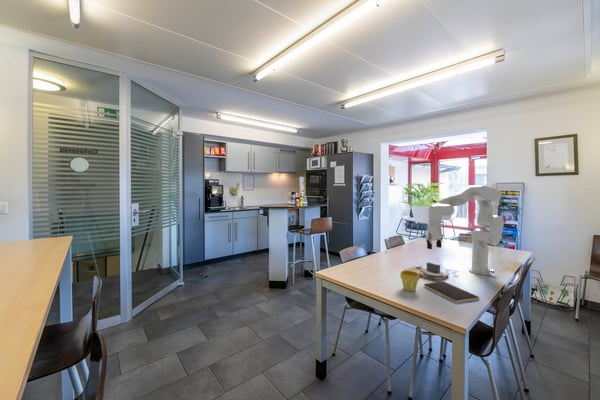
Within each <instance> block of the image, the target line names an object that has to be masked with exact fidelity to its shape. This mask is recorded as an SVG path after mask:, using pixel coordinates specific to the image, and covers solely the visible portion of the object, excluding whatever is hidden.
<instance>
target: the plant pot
mask: <svg viewBox="0 0 600 400" xmlns="http://www.w3.org/2000/svg"><path fill="white" fill-rule="evenodd" d="M399 274H400V275H399V276H400V279H401V282H402V287H403V289H404V290H405V291H408V292H415V291H416V290H417V285H418V282H419V281H420V277H419V274H418V273H417V272H414V271H404V270H402V271H400V273H399Z"/></svg>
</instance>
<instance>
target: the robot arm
mask: <svg viewBox="0 0 600 400" xmlns="http://www.w3.org/2000/svg"><path fill="white" fill-rule="evenodd" d="M501 198H502V193H501V191H500V190H498V189H497V188H493V187H490V186H487V185H483V184H480V185H479V184H478V185H477V184H476V185H475V184H474V185H468V186H466V187H465V188H463V189H461V190H460V191H458V192H457V193H455V194H454V195H450V196H448V197H445V198H442V199H440V200H439V201H437V202H436V203H434V204H430V205H429V206H428V225H427V227H426V236H425V237H424V239H425V241H426V248H427V249H428V250H432V249H433V241H436V244H435V245H436V248H440V249H441V248H442V242H443V238H444V234H443V231H442V229H443V228H442V216H446V217H448V216H452V215H453V214H454V213H455V207H460V206H464V205H465V204H466V203H468V202H470V201H471V200H473V199H475V200H476V202H477V203H478V207H479V209H478V213H477V218H476V224H477V226H479V227H481V228H474V229H473V230H472V231H471V234H470V235H471V241H472V249H471V253H472V254H471V267H470V268H468V271H469V272H470V273H472V274H476V275H480V276H481V275H482V276H489V275H491V274H496V271H495V270H494V269H491V268H490V266H489V252H490V251H489V249H490V248H489V246H488V245H494V246H496V245H498V244H499V243H500V242H501V238H502V235H503V229H504V224H505V222H504V219H503V217H502V216H500V215H494V210H495V206H494V204H493V203H494V202H498V201H500V200H501ZM484 228H487V229H484Z"/></svg>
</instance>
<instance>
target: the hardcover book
mask: <svg viewBox="0 0 600 400" xmlns="http://www.w3.org/2000/svg"><path fill="white" fill-rule="evenodd" d="M423 285H424V288H426V289H427V290H429V291H431V292H433V293H436V294H438V295H440V296H441V297H444V298H446V299H448V300H449V301H451V302H453V303H456V304H457V303H458V304H459V303H464V302H465V303H466V302H472V301H479V300H480V297H479V296H478V295H475V294H473V293H471V292H468V291H467V290H464V289H463V288H459V287H458V286H455V285H453V284H451V283H448V282H446V281H441V282H436V281H435V282H429V283H423Z"/></svg>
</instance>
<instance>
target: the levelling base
mask: <svg viewBox="0 0 600 400" xmlns="http://www.w3.org/2000/svg"><path fill="white" fill-rule="evenodd" d="M420 269H423V270H424V269H426V267H424V266H423V267H422V266H421V265H413V266H411V267H408V268H404V270H403V271H414V272H417V273H418V274H419V278H423V279H426V280H430V281H433V282H435V283H436V282H444V281H445V280H446V279H449V274H447V273H444V272H443V276H442V277H433V276H429V275H426V274H424V273H423V271H422V270H420Z"/></svg>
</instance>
